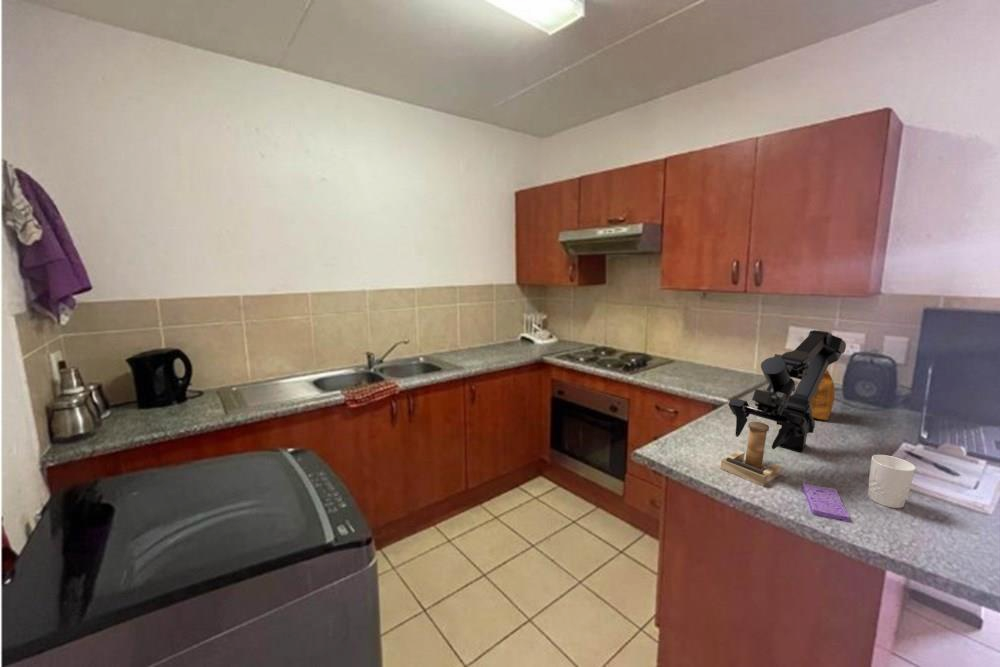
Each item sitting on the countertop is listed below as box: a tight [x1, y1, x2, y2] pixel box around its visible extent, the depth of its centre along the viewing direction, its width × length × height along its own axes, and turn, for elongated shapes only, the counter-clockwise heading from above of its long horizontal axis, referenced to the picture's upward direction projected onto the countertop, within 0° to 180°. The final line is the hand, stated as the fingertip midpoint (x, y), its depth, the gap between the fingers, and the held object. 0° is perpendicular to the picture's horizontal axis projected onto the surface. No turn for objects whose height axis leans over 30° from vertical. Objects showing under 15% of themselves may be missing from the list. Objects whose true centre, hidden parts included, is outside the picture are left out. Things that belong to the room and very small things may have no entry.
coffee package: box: [810, 368, 835, 421], centre depth 160 cm, size 10×12×22 cm
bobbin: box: [742, 421, 770, 471], centre depth 121 cm, size 6×6×13 cm
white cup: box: [867, 454, 917, 509], centre depth 107 cm, size 8×8×10 cm
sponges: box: [802, 483, 851, 522], centre depth 106 cm, size 7×13×2 cm, turn 155°
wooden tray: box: [720, 450, 782, 487], centre depth 121 cm, size 10×11×3 cm
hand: (754, 441), depth 119 cm, fingers open, 9 cm apart
